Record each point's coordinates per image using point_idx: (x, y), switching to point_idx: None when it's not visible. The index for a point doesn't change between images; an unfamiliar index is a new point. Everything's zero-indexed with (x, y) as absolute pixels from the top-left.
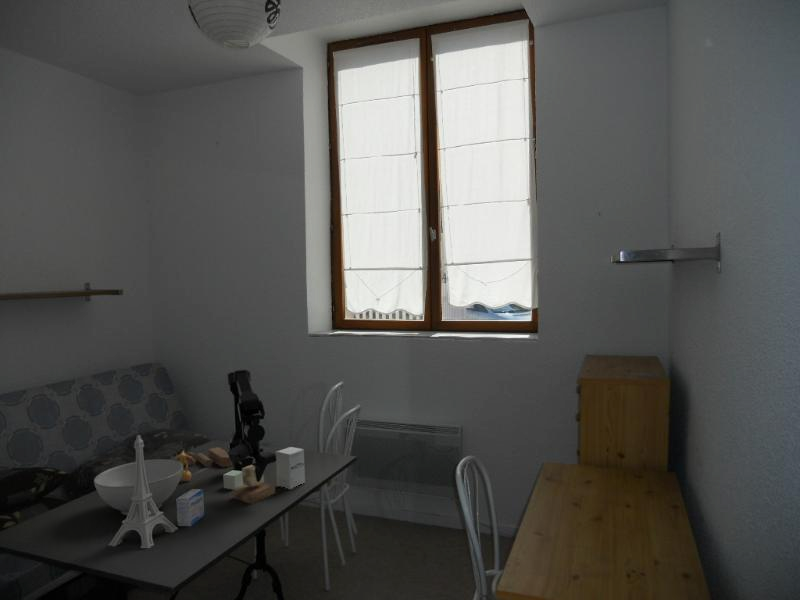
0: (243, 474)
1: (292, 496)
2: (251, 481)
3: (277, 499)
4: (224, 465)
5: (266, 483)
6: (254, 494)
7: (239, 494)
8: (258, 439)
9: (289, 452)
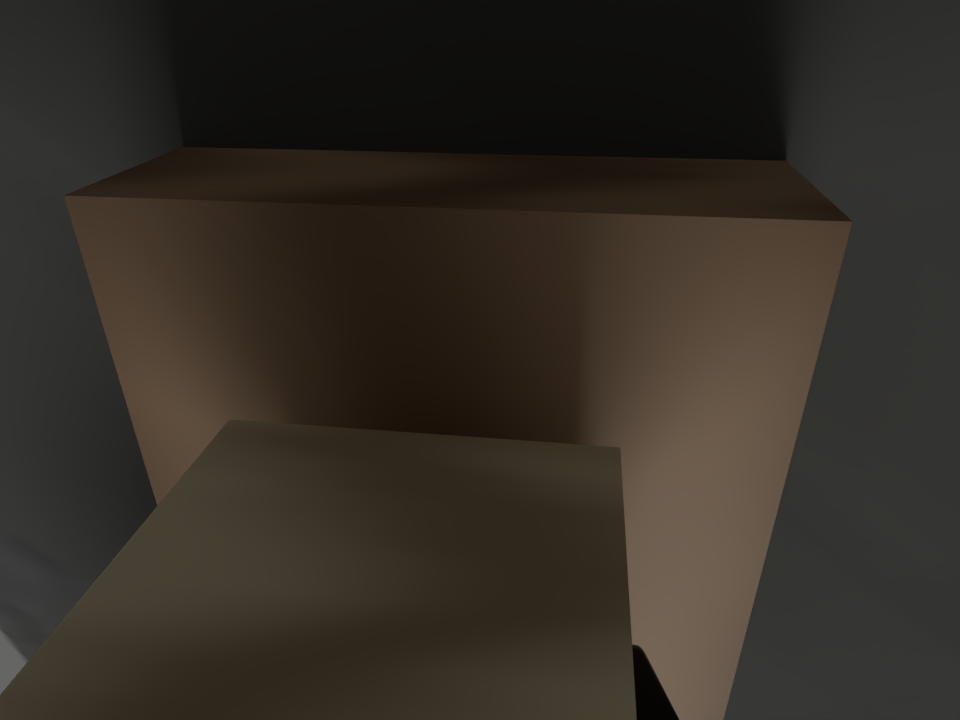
0: (561, 694)
1: (41, 591)
2: (174, 510)
3: (71, 461)
4: None
5: None
6: (105, 276)
7: (542, 186)
8: None
9: None
